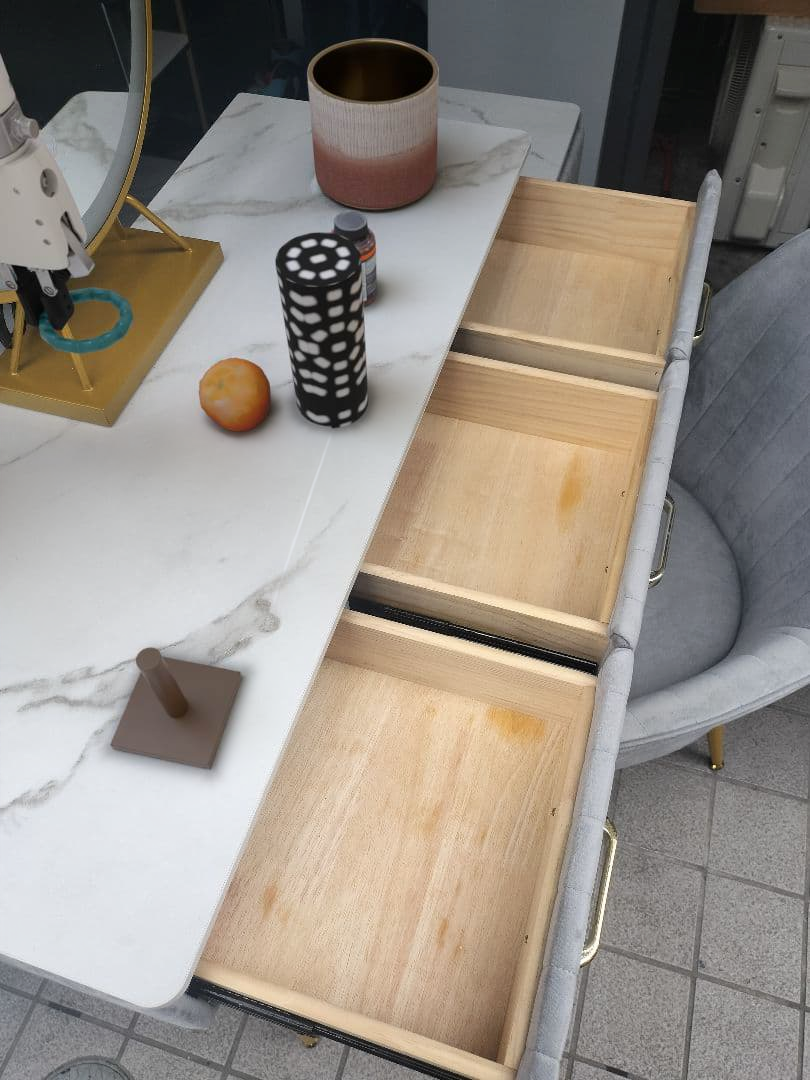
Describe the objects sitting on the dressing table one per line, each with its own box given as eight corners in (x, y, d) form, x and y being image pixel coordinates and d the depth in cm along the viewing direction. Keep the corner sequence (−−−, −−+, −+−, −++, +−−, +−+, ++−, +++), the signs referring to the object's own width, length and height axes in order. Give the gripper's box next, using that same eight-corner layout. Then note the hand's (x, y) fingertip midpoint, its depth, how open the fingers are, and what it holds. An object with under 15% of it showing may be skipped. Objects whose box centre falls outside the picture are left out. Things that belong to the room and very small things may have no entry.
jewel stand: (113, 749, 72) (71, 699, 63) (151, 659, 77) (117, 600, 68) (210, 770, 71) (182, 722, 62) (242, 677, 76) (220, 619, 67)
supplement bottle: (322, 298, 106) (314, 221, 96) (351, 275, 109) (346, 198, 99) (357, 317, 104) (353, 240, 94) (386, 292, 107) (385, 216, 97)
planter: (338, 138, 127) (330, 29, 114) (448, 156, 124) (454, 46, 111) (299, 204, 117) (286, 93, 104) (418, 224, 115) (420, 114, 102)
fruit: (300, 396, 94) (265, 371, 87) (260, 451, 95) (222, 431, 87) (254, 362, 97) (216, 335, 90) (216, 416, 98) (175, 393, 90)
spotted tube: (311, 438, 92) (292, 296, 76) (287, 389, 97) (263, 245, 80) (379, 416, 94) (374, 272, 78) (352, 369, 99) (342, 224, 82)
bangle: (25, 347, 74) (21, 337, 74) (65, 289, 79) (61, 279, 78) (112, 362, 74) (109, 352, 73) (147, 302, 78) (144, 292, 77)
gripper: (90, 114, 63) (147, 305, 78) (-97, 89, 64) (-5, 281, 80) (48, 167, 59) (116, 359, 74) (-152, 139, 60) (-44, 332, 75)
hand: (53, 317), depth 77 cm, fingers closed on bangle, 1 cm apart
